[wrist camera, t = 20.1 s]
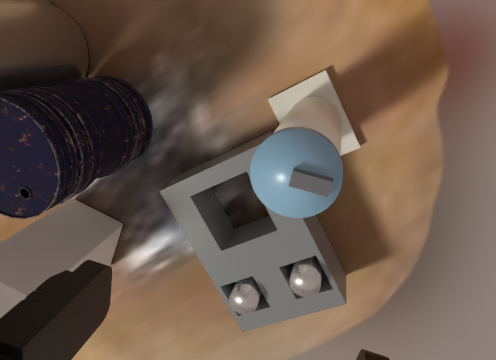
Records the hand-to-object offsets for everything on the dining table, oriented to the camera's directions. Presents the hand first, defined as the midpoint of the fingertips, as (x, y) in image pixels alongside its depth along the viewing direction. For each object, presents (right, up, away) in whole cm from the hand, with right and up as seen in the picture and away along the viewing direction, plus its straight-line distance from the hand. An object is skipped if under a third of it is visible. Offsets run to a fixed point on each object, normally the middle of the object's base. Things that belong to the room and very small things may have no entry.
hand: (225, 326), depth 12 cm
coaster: (+7, +10, +25) cm, 28 cm away
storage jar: (-14, +11, +31) cm, 36 cm away
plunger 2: (+7, -4, +30) cm, 31 cm away
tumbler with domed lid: (+7, +10, +25) cm, 28 cm away
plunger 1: (+1, -6, +32) cm, 33 cm away
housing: (+2, 0, +31) cm, 31 cm away
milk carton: (-19, -2, +37) cm, 41 cm away
